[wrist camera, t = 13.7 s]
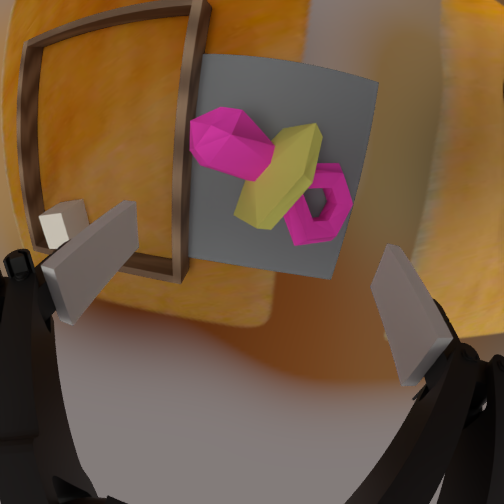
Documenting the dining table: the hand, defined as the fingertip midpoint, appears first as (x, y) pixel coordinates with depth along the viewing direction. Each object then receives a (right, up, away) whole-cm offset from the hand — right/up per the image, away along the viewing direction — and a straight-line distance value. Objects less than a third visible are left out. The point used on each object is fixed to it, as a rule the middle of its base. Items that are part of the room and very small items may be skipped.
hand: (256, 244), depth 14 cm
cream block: (-25, +5, +20) cm, 33 cm away
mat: (+2, +8, +15) cm, 17 cm away
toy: (+3, +8, +14) cm, 17 cm away
